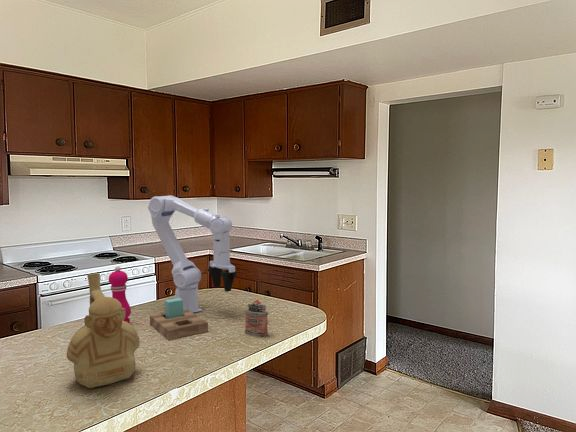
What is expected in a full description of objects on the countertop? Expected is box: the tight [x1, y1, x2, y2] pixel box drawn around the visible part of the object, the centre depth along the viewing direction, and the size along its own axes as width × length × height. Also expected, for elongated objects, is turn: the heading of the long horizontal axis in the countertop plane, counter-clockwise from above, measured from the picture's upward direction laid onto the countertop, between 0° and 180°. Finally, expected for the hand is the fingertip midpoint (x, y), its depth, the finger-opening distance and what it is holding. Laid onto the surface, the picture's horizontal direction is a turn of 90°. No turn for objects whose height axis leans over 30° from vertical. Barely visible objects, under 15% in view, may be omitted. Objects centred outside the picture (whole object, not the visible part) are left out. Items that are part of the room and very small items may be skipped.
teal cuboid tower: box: [164, 297, 183, 319], centre depth 151 cm, size 4×5×8 cm
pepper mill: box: [108, 266, 132, 324], centre depth 150 cm, size 7×7×20 cm
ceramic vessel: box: [65, 272, 140, 389], centre depth 111 cm, size 17×20×25 cm
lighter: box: [244, 302, 269, 338], centre depth 141 cm, size 8×3×10 cm, turn 62°
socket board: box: [149, 309, 209, 341], centre depth 148 cm, size 18×13×3 cm
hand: (222, 289), depth 160 cm, fingers open, 7 cm apart
